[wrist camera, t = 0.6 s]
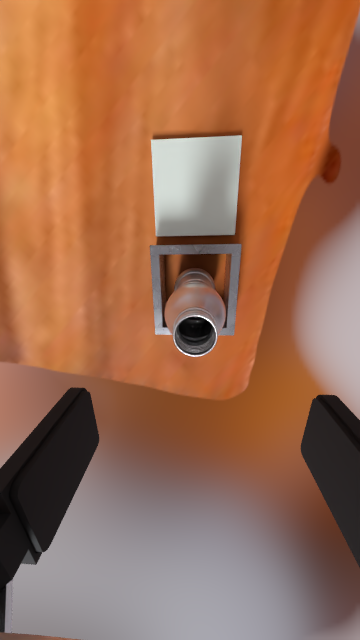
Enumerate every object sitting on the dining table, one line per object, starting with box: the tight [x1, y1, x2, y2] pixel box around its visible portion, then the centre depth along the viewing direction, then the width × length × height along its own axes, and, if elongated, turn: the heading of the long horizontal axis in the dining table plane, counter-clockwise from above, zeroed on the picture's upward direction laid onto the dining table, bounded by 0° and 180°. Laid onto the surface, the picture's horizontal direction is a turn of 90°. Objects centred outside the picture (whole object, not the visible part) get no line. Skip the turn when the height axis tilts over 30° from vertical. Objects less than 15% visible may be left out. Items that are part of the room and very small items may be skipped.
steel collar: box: [150, 244, 241, 335], centre depth 33 cm, size 13×12×5 cm
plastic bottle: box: [165, 268, 226, 357], centre depth 26 cm, size 6×7×20 cm
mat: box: [151, 135, 242, 236], centre depth 30 cm, size 12×12×1 cm
